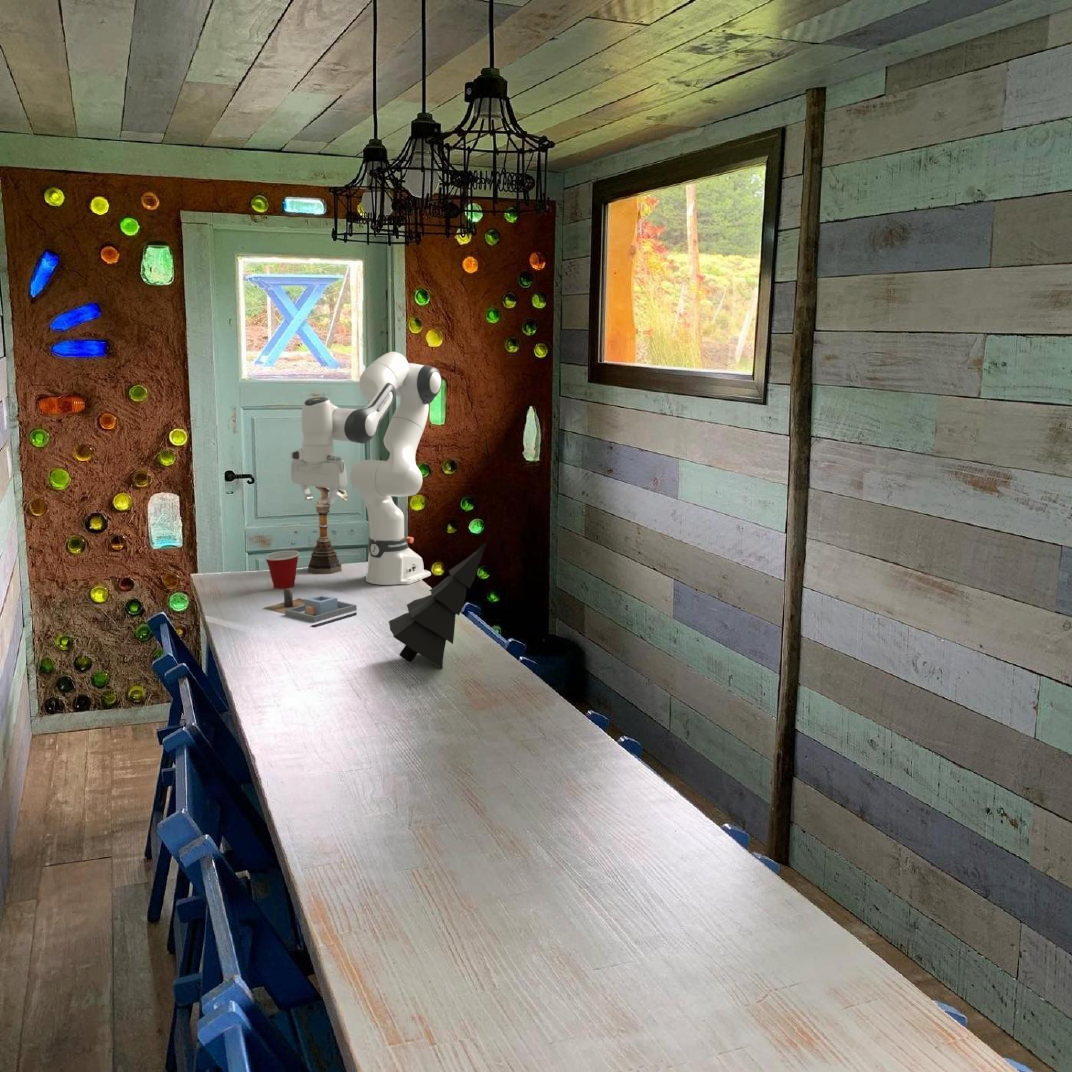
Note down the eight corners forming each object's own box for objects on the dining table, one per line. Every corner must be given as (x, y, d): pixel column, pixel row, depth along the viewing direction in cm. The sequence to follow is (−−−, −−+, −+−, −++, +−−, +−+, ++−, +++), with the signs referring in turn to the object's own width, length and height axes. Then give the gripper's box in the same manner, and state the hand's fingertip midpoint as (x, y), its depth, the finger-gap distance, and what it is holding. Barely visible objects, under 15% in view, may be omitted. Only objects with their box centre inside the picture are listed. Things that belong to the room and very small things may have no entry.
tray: (327, 608, 317) (327, 598, 317) (356, 615, 310) (356, 605, 310) (285, 620, 304) (285, 610, 304) (314, 627, 298) (314, 617, 297)
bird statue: (356, 564, 374) (353, 463, 367) (357, 572, 362) (354, 468, 355) (307, 565, 371) (303, 464, 364) (306, 574, 359) (303, 469, 352)
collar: (321, 611, 312) (321, 594, 311) (337, 615, 308) (337, 598, 307) (300, 617, 305) (300, 600, 304) (316, 621, 302) (316, 603, 301)
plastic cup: (264, 588, 340) (262, 551, 338) (298, 585, 344) (297, 548, 341) (267, 596, 330) (265, 558, 328) (303, 593, 334) (301, 555, 331)
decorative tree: (433, 682, 263) (515, 565, 262) (383, 651, 259) (466, 532, 258) (426, 664, 278) (504, 552, 276) (378, 634, 273) (457, 521, 272)
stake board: (299, 603, 323) (298, 582, 321) (322, 608, 317) (321, 587, 316) (262, 613, 312) (261, 591, 310) (285, 618, 306) (284, 596, 305)
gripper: (351, 456, 309) (352, 503, 311) (302, 450, 320) (304, 496, 323) (335, 458, 304) (336, 506, 306) (286, 452, 315) (288, 499, 318)
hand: (319, 501), depth 315 cm, fingers open, 8 cm apart
